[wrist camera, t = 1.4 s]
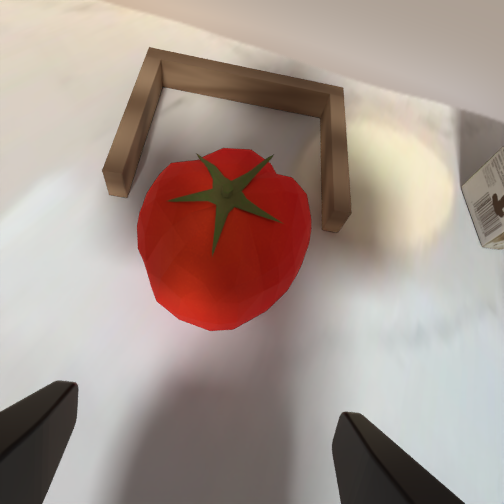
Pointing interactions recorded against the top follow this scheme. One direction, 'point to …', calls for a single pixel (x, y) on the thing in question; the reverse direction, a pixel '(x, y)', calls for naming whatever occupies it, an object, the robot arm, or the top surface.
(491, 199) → the coffee box
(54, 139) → the top surface
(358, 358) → the top surface
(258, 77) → the walnut bay
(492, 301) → the top surface
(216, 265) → the tomato
